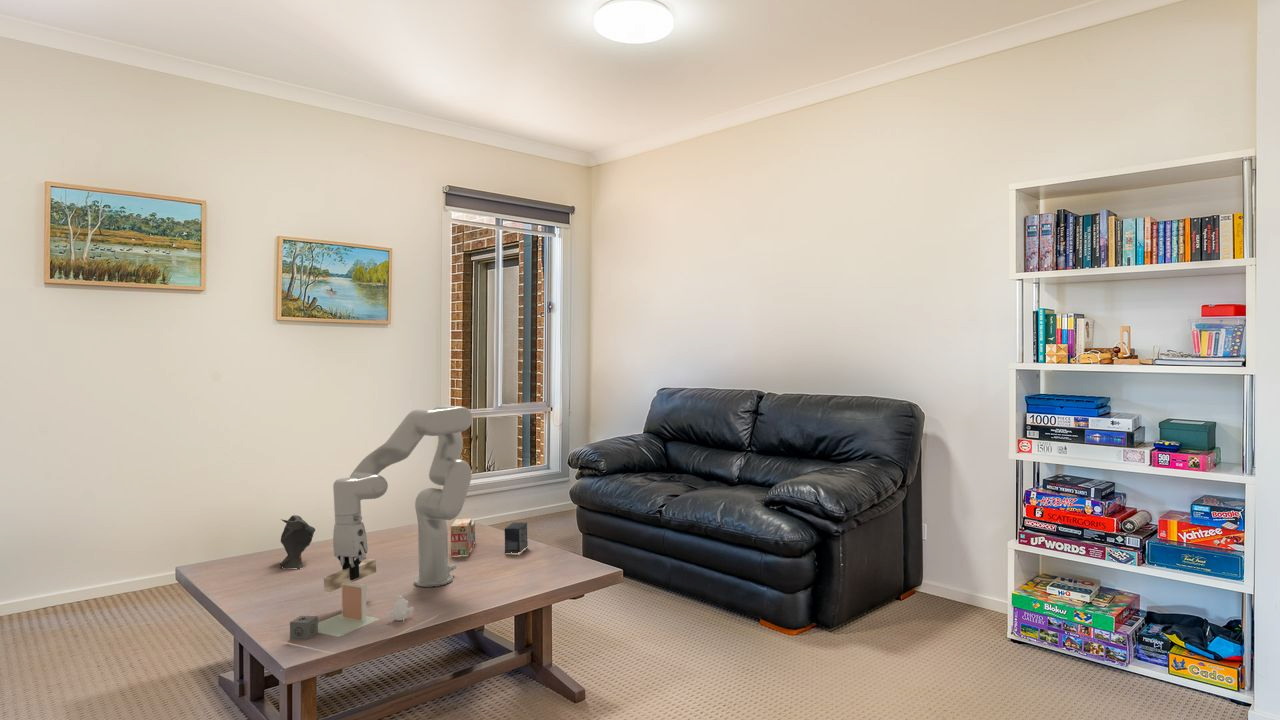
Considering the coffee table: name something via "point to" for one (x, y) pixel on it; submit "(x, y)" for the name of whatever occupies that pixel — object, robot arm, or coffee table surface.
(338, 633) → the sage mat
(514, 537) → the small box
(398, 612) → the rocket toy
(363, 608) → the cream tile
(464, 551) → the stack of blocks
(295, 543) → the dark grey sculpture
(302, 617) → the dice cube
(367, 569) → the tan wavy bar
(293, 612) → the coffee table surface
